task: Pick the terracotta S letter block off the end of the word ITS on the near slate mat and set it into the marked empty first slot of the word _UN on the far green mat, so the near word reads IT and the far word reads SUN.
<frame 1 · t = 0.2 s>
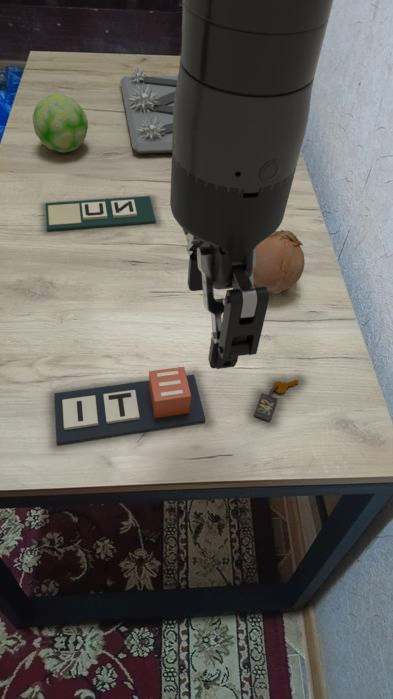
hand: (210, 323, 42), 22 cm above the table, tool pointing down, fingers open, 8 cm apart
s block: (168, 400, 62), resting on near word mat
decorative ball: (64, 149, 96), on the table
key tag: (277, 400, 64), on the table
far word mat: (100, 214, 84), on the table
apple: (225, 209, 88), on the table
onion: (266, 283, 77), on the table
near word mat: (129, 408, 62), on the table
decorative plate: (176, 118, 106), on the table
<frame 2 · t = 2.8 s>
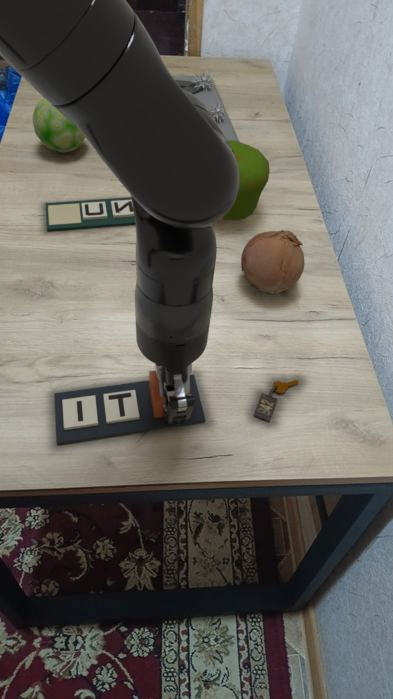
hand: (169, 400, 62), 1 cm above the table, tool pointing down, fingers open, 5 cm apart
nothing on the table moved.
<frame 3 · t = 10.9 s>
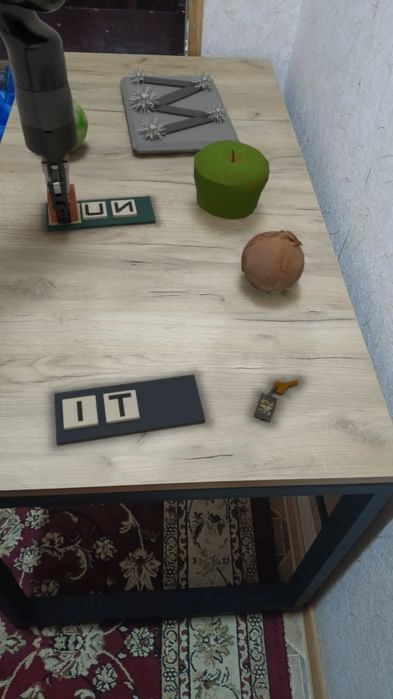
hand: (64, 212, 83), 1 cm above the table, tool pointing down, fingers closed on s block, 4 cm apart
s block: (64, 213, 83), point 1 cm above the table, touching gripper
everything else where it was.
when the fingers open (2 cm above the table, at t = 18.3 s): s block drops 1 cm, resting on far word mat.
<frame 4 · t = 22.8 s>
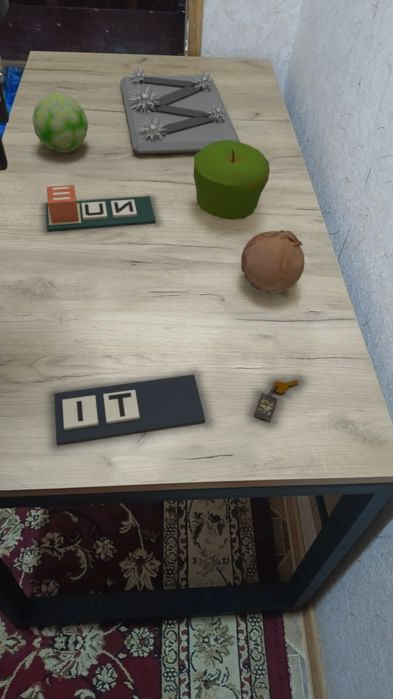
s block: (64, 214, 83), point 1 cm above the table, touching far word mat
everything else where it was.
at the end: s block 0.1 cm from the target spot on the far word mat, point 0.6 cm above the far word mat's base; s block tilted 0°; the gripper is holding nothing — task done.
